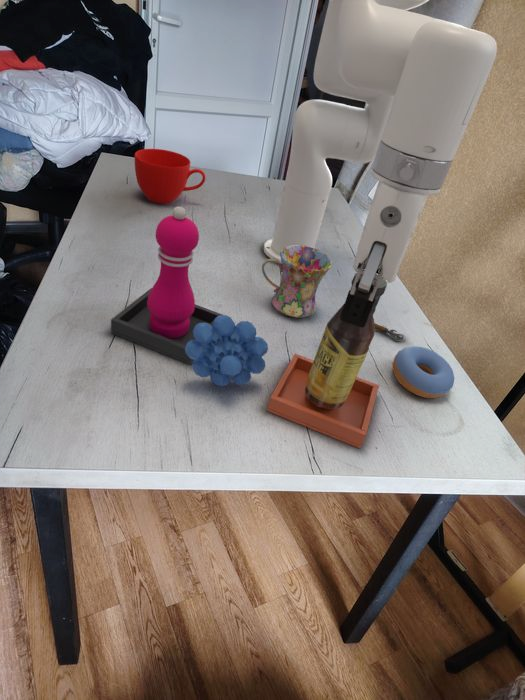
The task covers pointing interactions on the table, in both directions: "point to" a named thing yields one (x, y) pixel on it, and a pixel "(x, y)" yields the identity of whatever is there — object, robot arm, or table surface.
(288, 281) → the mug
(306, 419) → the terracotta tray
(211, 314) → the charcoal tray
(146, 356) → the table surface
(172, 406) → the table surface
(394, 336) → the can opener
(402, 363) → the doughnut
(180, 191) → the ceramic cup
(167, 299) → the pepper mill
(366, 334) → the sauce bottle
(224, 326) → the blue knobbed flower
